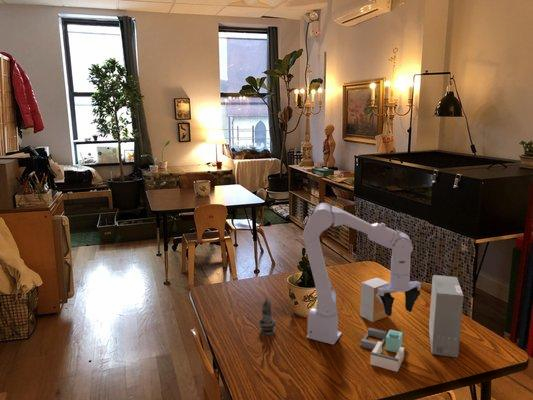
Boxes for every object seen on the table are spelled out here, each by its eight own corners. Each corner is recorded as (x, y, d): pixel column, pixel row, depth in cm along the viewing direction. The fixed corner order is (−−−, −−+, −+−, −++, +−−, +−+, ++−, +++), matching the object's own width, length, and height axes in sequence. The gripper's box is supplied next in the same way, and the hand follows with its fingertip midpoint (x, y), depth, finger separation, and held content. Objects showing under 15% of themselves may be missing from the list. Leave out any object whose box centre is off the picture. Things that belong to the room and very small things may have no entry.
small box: (373, 322, 148) (374, 288, 146) (359, 315, 154) (360, 282, 151) (388, 316, 153) (390, 282, 150) (375, 309, 158) (376, 276, 155)
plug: (398, 353, 130) (399, 337, 129) (385, 350, 132) (385, 334, 131) (402, 345, 134) (402, 330, 133) (389, 342, 136) (389, 327, 135)
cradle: (379, 351, 131) (379, 345, 131) (359, 346, 134) (359, 340, 134) (386, 337, 139) (387, 331, 138) (368, 332, 142) (368, 327, 141)
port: (377, 350, 131) (378, 339, 131) (403, 357, 128) (404, 345, 127) (370, 364, 124) (370, 352, 124) (397, 371, 121) (398, 359, 120)
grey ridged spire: (278, 328, 146) (278, 296, 143) (271, 337, 140) (271, 303, 138) (263, 325, 148) (262, 293, 145) (255, 333, 143) (254, 300, 140)
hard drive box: (458, 358, 126) (464, 296, 122) (431, 355, 128) (435, 293, 124) (452, 332, 141) (457, 276, 137) (428, 329, 143) (431, 274, 139)
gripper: (411, 264, 137) (409, 303, 140) (372, 271, 133) (371, 311, 136) (426, 272, 131) (423, 312, 134) (386, 279, 126) (384, 321, 129)
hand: (398, 312), depth 134 cm, fingers open, 7 cm apart
